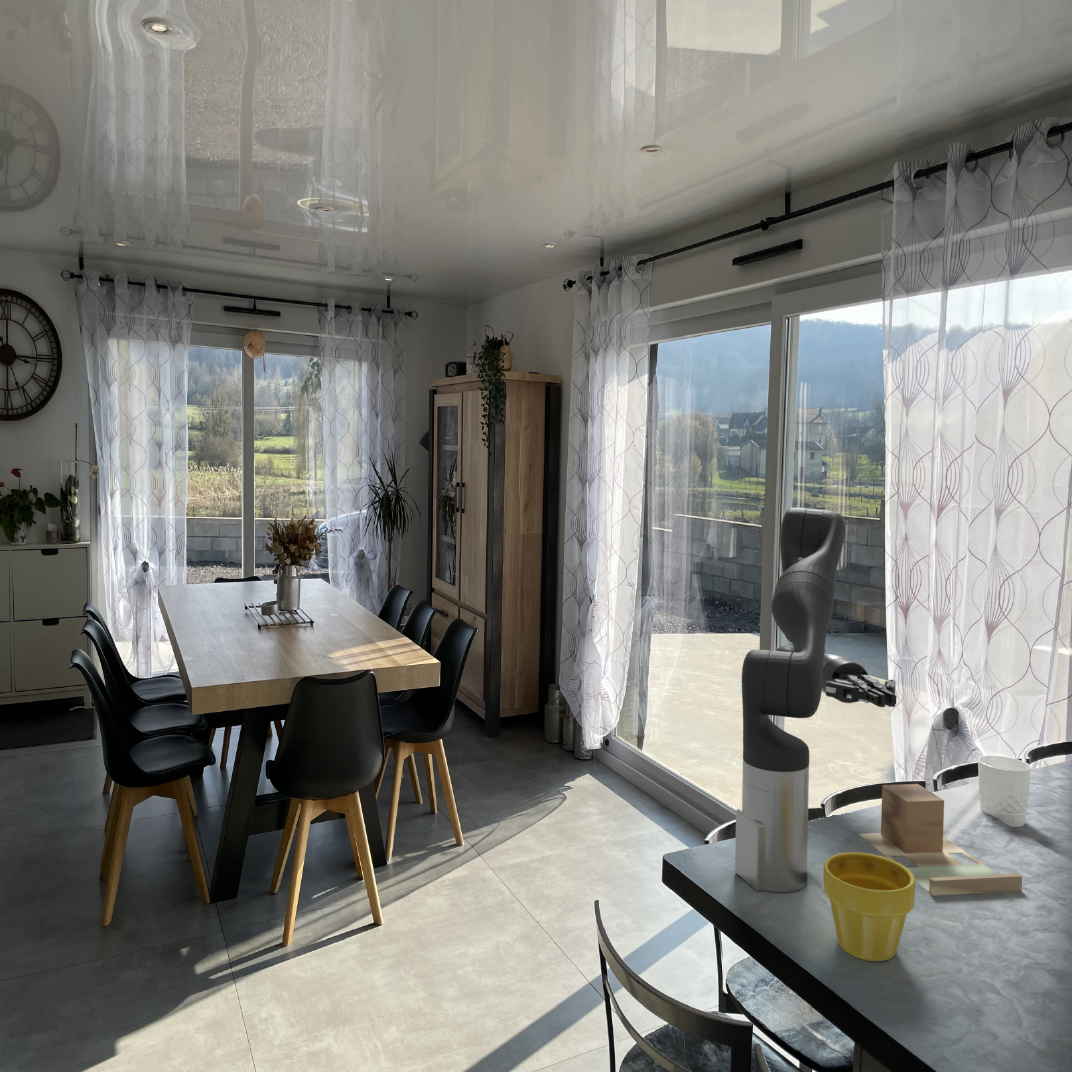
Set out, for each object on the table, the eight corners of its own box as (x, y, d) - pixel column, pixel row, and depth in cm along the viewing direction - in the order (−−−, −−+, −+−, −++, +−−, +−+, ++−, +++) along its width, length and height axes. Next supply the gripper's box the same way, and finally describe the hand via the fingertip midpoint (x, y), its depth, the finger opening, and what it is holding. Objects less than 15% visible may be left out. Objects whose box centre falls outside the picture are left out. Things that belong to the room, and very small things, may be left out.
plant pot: (872, 981, 93) (874, 898, 92) (804, 937, 102) (805, 861, 101) (931, 957, 98) (934, 878, 97) (861, 917, 107) (863, 845, 106)
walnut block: (880, 834, 130) (882, 785, 129) (916, 832, 130) (917, 783, 130) (905, 853, 123) (906, 801, 122) (942, 851, 123) (944, 800, 123)
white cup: (1039, 829, 135) (1041, 770, 135) (991, 829, 135) (993, 770, 135) (1012, 811, 143) (1014, 755, 143) (967, 810, 143) (969, 755, 143)
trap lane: (858, 843, 130) (858, 821, 130) (934, 839, 131) (935, 818, 131) (932, 905, 110) (933, 880, 110) (1021, 901, 111) (1022, 876, 111)
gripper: (803, 658, 149) (849, 679, 132) (873, 656, 150) (928, 677, 133) (802, 698, 149) (848, 724, 132) (872, 696, 151) (926, 722, 134)
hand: (888, 701), depth 133 cm, fingers closed
